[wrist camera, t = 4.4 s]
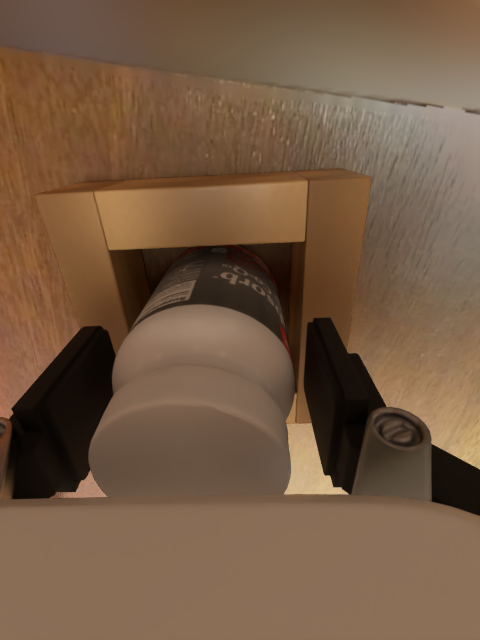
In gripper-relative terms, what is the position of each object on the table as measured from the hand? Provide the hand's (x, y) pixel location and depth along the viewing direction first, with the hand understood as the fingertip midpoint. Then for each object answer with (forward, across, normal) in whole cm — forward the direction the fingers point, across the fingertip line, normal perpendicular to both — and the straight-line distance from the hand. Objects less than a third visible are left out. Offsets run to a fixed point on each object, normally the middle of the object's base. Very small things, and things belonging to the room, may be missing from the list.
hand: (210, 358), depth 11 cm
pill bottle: (+6, 0, 0) cm, 6 cm away
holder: (+5, 0, 0) cm, 5 cm away
